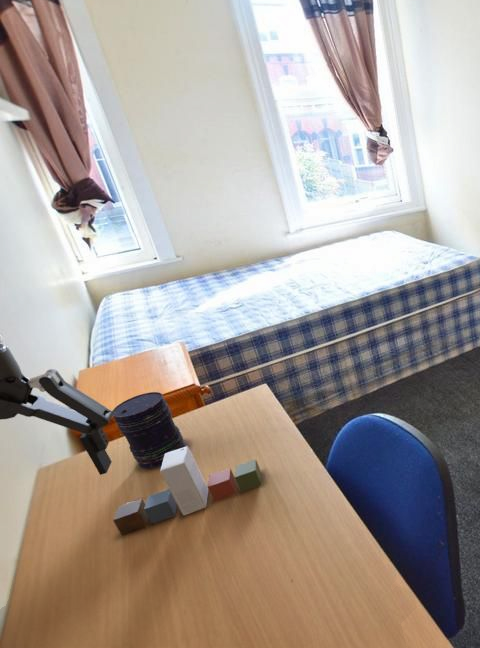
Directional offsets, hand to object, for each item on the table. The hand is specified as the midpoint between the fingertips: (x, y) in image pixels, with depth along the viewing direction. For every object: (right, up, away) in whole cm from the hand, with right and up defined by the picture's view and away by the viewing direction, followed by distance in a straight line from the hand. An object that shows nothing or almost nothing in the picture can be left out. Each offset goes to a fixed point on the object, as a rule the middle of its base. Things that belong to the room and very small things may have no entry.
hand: (47, 486), depth 66 cm
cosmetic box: (-1, -16, +32) cm, 35 cm away
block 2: (-6, -17, +30) cm, 35 cm away
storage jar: (-19, -11, +48) cm, 52 cm away
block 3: (+4, -14, +34) cm, 37 cm away
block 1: (-10, -18, +28) cm, 35 cm away
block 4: (+9, -13, +36) cm, 39 cm away
